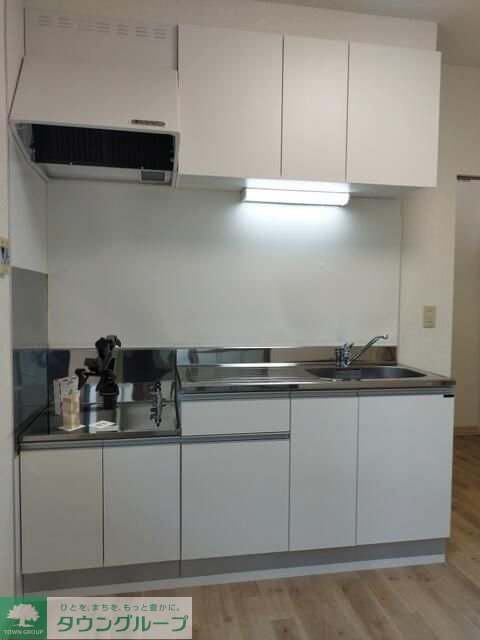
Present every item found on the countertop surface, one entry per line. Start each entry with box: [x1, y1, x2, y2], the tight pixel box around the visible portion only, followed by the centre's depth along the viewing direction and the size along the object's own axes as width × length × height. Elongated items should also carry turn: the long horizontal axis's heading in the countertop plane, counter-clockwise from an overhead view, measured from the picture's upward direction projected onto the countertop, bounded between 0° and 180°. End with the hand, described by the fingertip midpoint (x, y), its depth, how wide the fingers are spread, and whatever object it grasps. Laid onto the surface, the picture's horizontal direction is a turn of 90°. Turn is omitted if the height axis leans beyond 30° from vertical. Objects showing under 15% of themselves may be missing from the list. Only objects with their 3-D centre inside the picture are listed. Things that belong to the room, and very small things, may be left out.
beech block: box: [62, 395, 81, 429], centre depth 190 cm, size 4×4×13 cm
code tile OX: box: [88, 420, 116, 430], centre depth 194 cm, size 8×8×1 cm
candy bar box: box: [53, 375, 82, 417], centre depth 211 cm, size 11×5×16 cm, turn 148°
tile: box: [57, 424, 85, 432], centre depth 190 cm, size 8×8×1 cm
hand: (86, 390), depth 196 cm, fingers open, 9 cm apart
